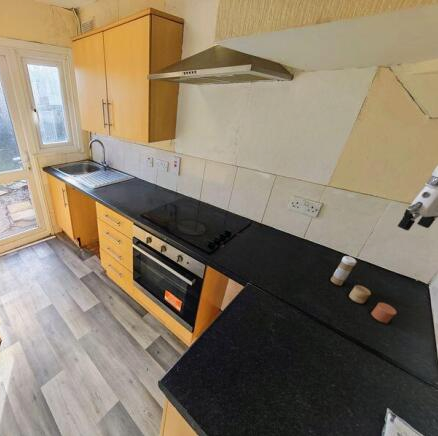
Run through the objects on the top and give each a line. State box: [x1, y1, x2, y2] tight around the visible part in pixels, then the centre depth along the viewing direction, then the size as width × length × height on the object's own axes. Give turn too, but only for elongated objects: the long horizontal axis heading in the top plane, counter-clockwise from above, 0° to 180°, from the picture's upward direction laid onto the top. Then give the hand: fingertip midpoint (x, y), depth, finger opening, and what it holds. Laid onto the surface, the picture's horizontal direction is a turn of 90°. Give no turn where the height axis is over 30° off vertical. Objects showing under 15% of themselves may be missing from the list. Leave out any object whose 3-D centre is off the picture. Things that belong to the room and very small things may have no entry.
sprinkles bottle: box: [330, 255, 357, 286], centre depth 99 cm, size 5×5×14 cm
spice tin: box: [348, 284, 372, 304], centre depth 93 cm, size 5×5×5 cm
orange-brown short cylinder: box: [370, 302, 397, 324], centre depth 85 cm, size 5×5×5 cm
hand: (412, 227), depth 83 cm, fingers open, 9 cm apart
